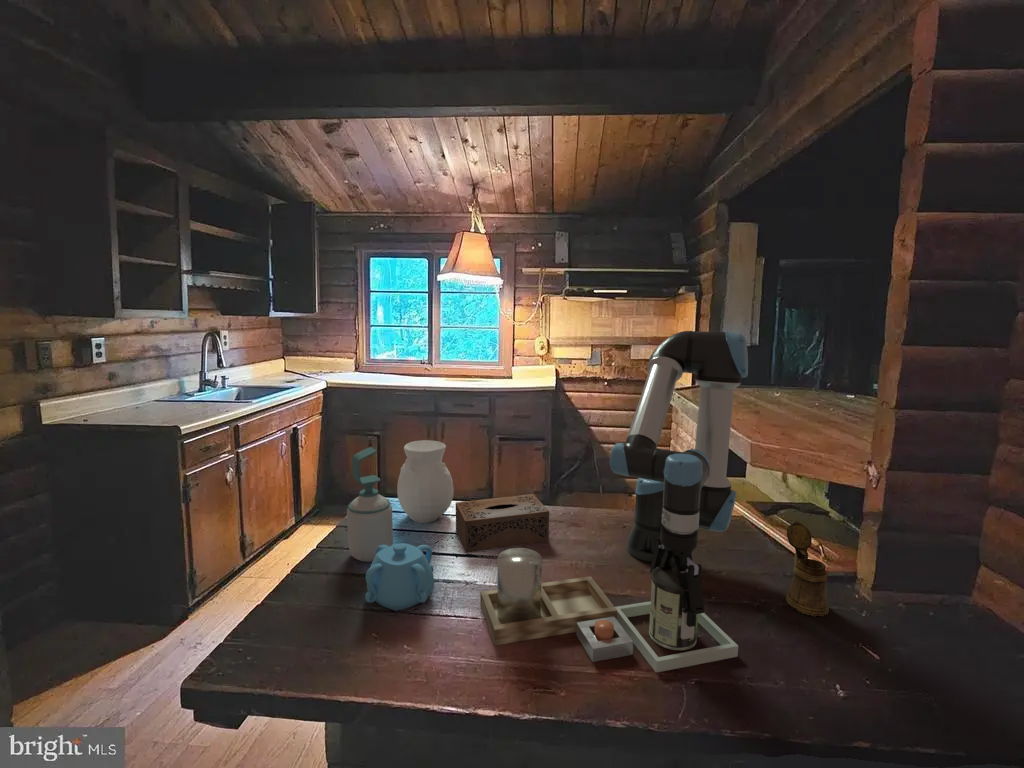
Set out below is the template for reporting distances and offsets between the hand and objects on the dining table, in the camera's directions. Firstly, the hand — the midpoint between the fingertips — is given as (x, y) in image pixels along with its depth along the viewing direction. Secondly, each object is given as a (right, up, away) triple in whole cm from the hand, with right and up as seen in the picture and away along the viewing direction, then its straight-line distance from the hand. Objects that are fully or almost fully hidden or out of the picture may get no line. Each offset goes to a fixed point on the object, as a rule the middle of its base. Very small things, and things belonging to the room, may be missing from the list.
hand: (673, 622), depth 116 cm
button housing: (-16, -4, -3) cm, 16 cm away
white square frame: (0, -3, +1) cm, 3 cm away
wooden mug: (+36, -1, +14) cm, 39 cm away
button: (-16, -3, -3) cm, 16 cm away
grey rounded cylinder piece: (-34, -1, +6) cm, 34 cm away
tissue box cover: (-39, +5, +47) cm, 62 cm away
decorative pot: (-63, 0, +14) cm, 65 cm away
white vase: (-64, +8, +61) cm, 89 cm away
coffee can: (0, -3, +1) cm, 4 cm away
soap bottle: (-76, +3, +35) cm, 84 cm away
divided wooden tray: (-27, -2, +8) cm, 28 cm away
